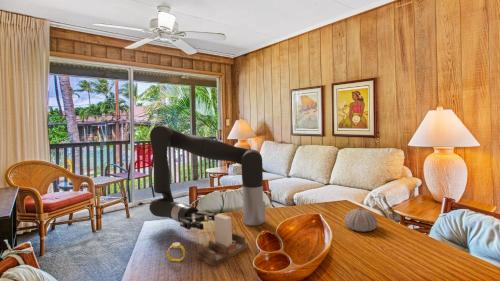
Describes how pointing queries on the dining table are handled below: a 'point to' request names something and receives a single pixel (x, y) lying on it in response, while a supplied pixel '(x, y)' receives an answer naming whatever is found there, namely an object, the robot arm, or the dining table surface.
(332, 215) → the dining table surface
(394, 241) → the dining table surface
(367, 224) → the sea urchin shell
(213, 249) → the rack
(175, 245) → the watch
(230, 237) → the panel
